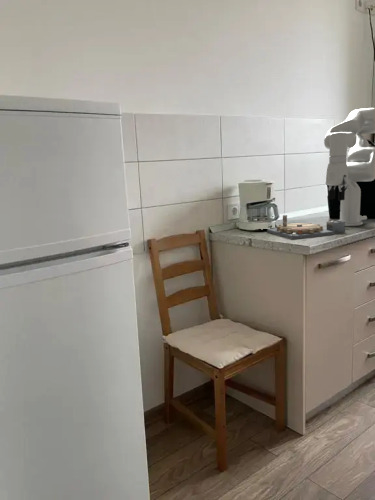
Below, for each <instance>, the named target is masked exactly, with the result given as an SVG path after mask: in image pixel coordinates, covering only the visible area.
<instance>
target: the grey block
mask: <svg viewBox="0 0 375 500" xmlns="http://www.w3.org/2000/svg"><path fill="white" fill-rule="evenodd" d="M326 230H330V231H334V234H340V233H345V232H346V226H345V222H343V221H341V220H340V219H337V220H330V221H327V222H326Z"/></svg>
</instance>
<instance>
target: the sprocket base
mask: <svg viewBox="0 0 375 500" xmlns="http://www.w3.org/2000/svg"><path fill="white" fill-rule="evenodd" d="M273 228H274V229H267V230H266V233H269V234H272V235H275V236H279V237H283V238H286V239H289V240H290V239H291V240H301V239H307V238H308V239H309V238H316V237H327V236H334V235H335V233H334V231H330V230H327V229H324V228H323V230H321V231H320V232H314V233H302V234H298V233H287V232H279V230H277V228H275V227H273Z"/></svg>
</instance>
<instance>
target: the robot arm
mask: <svg viewBox="0 0 375 500" xmlns="http://www.w3.org/2000/svg"><path fill="white" fill-rule="evenodd" d="M368 134H375V107H368V108H359V109H354V110H352V111H351V112H350V113H349V114H348V116H347V117H346V119H344V121H343V122H340V123H338V124H336V125H334V126H332V127H330V129H328V131H327V133H326V135H325V136H324V140H323V144H324V147H325V148H326V149H328V150H329V153H328V154H329V156H328V157H329V159H328V162H329V163H328V164H327V169H326V175H325V176H326V177H325V185H326V187H327V189H328V191H329V192H328V200H335V199H336V187H337V186H338V193H337V201H340V205H339V210H340V211H339V220H341V221H343V222H345V227H356V226H359V227H360V226H362V225H363V220H367V219H368V217H367V215H363V216H362V215H361V197H362V194H361V193H362V191H361V190H362V189H361V188H360V186H359V184H358V183H357V182H372V181H374V180H375V146H369V141H368V140H367V139H366V137H364V136H363V135H368ZM348 149H349V150H348Z"/></svg>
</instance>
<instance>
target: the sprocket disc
mask: <svg viewBox="0 0 375 500" xmlns="http://www.w3.org/2000/svg"><path fill="white" fill-rule="evenodd" d="M323 229H324V226H323V225H320V224H319V223H318V224H316V223H315V224H314V223H309V222H307V223H301V222H296V223H288V215H286V214H284V215H282V224H279V225H277V230H279V232H287V233H298V234H302V233H314V232H320V231H321V230H323Z"/></svg>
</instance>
